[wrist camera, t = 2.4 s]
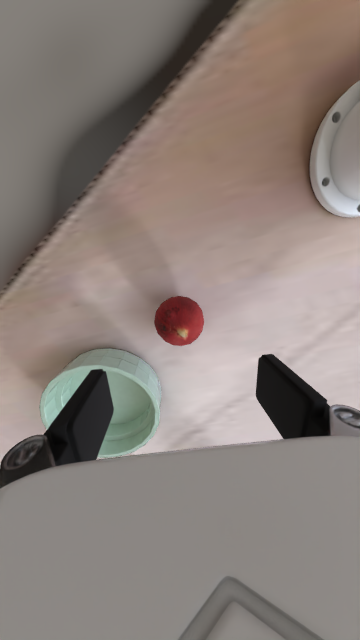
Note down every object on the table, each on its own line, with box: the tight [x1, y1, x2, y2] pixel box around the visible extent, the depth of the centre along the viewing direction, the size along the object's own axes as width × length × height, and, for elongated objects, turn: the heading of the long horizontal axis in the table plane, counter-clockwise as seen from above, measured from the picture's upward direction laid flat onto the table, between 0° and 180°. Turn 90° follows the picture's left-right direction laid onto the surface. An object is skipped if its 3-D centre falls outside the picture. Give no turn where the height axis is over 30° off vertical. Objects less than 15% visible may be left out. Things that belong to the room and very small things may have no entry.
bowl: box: [39, 348, 161, 458], centre depth 26 cm, size 15×15×5 cm
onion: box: [154, 296, 204, 346], centre depth 21 cm, size 6×6×8 cm
